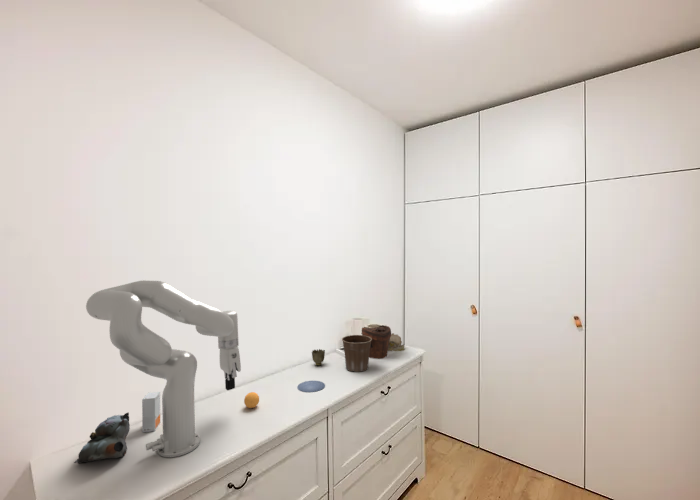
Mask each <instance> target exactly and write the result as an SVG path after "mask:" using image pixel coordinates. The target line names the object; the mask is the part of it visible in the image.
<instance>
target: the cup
mask: <svg viewBox="0 0 700 500" xmlns="http://www.w3.org/2000/svg"><path fill="white" fill-rule="evenodd" d="M325 354H326V350H325V349H320V348H319V349H313V350H312V351H311V357H312V361H313V362H314V365H315V366H317V367H320V366H322V364H323V362H324V360H325Z"/></svg>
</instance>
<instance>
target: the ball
mask: <svg viewBox="0 0 700 500" xmlns="http://www.w3.org/2000/svg"><path fill="white" fill-rule="evenodd" d="M259 402H260V396H259V394H258V393H256V392H253V391H251V392H248V393H247V394H246V395H245V396H244V401H243V403H244V405H245V407H246V408H249V409H254V408H255V407H257V406H258V405H259Z"/></svg>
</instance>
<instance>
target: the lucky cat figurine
mask: <svg viewBox="0 0 700 500" xmlns="http://www.w3.org/2000/svg"><path fill="white" fill-rule="evenodd" d="M129 414H130V413H129V412H126V413H124V414H123V415H122V414H115V415H112V416H110V417H107V418H106V419H105V420H103V421H101V422H100V423H99V424H98V426H97V427H95V430H94V432H93V431H92V432H91V433H90V435H89V440H88V441H87V443H86V444H84V445H83V447H82V448H81V449H80V450H79V452H78V456H77V457H78V458H77V459H75V461H73V463H74V464H76V463H77V464H81V463H85V462H93V461H99V460H105V459H116V458H117V459H118V458H124V457H125V456H126V455H127V450H128V447H127V442H126V441H127V440H126V439H127V436H128V434H129V433H130V430H131V428H130V427H131V426H130V425H131V424H130V416H129Z"/></svg>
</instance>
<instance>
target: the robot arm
mask: <svg viewBox="0 0 700 500" xmlns="http://www.w3.org/2000/svg"><path fill="white" fill-rule="evenodd" d="M85 308H86V312H87V314H88V315H89V316H90V317H92V318H93V319H96V320H101V321H109V322H110V323H109V338H110V342H111V344H112V345H113V346H114V347H116V349H118V350H119V356H120V357H121V359H122V361H123V362H124V363H125V364H127V365H129V366H131V367H132V368H135V369H136V370H139V371H140V372H143V373H145V374H146V375H149V376H152V377H154V378H159V379H164V380H166V383H165V386H164V388H163V391H162V395H161V398H162V399H161V405H162V434H160V436H159V438H157V439H156V440H155V441H151V442H148V443H146V444H145V450H146V451H149V450H152V452H156V451H157V454H158V455H159V456H161V457H163V458H175V457H176V458H177V457H180V456H183V455H186V454H188V453H190V452H192V451H194V450H195V449H196V448H197V447H198V446H199V445H200V443H201V436H200V434H198V433H197V432H196V415H195V414H196V413H195V411H196V409H195V407H196V406H195V401H196V400H195V382H196V374H197V371H198V370H197V368H198V361H197V358H196V356H195V355H194V354H193V353H191V352H189V351H186V350H180V349H175V348H172V346H171V343H170V342H169V341H168V340H166V338H164V337H162V336H161V335H159V334H157V333H156V332H154V331H153V330H150V328H148V327H147V326H145V325H144V324H143V321H142V313H143V308H150V309H152V310H154V311H156V312H158V313H161V314H163V315H165V316H166V317H168V318H170V319H172V320H174V321H176V322H178V323H182V324H185V325H191V326H195V331H196V332H197V333H198V334H200V335H203V336H209V337H217V342H218V344H217V345H218V346H217V347H218V349H219V367H220V370H222V371H223V373H224V384H225V389H226V390H227V391H231V390H234V389H235V388H236V377H238V374H237V372H238V373H239V372H240V373H241V370H242V366H241V355H240V350H239V349H240V348H239V344H240V343H239V324H238V321H239V320H238V319H239V318H238V313H237V312H236V311H235V310H224V311H222V310H219V309H218V308H216V307H212V306H210V305H208V304H205V303H203V302H201V301H198V300H195V299H193V298H191V296H188V295H187V294H185V293H183V292H182V291H180V290H178V289H177V288H175V287H174V286H172V285H170V284H168V283H166V281H165V282H164V281H161V280H146V279H145V280H138V281H133V282H129V283H125V284H121V285H116V286H113V287H109V288H105V289H101V290H98V291H96V292H94V293H93V294H92V295H91V296H90V297H89V298H88V299H87V301H86V305H85Z"/></svg>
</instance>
